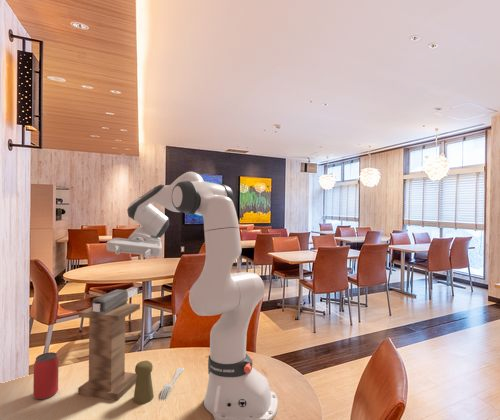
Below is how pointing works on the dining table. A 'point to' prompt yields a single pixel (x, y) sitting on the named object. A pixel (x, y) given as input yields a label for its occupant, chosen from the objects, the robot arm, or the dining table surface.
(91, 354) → the tube stand
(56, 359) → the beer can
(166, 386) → the fork
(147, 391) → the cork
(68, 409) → the dining table surface
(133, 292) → the grey bar
